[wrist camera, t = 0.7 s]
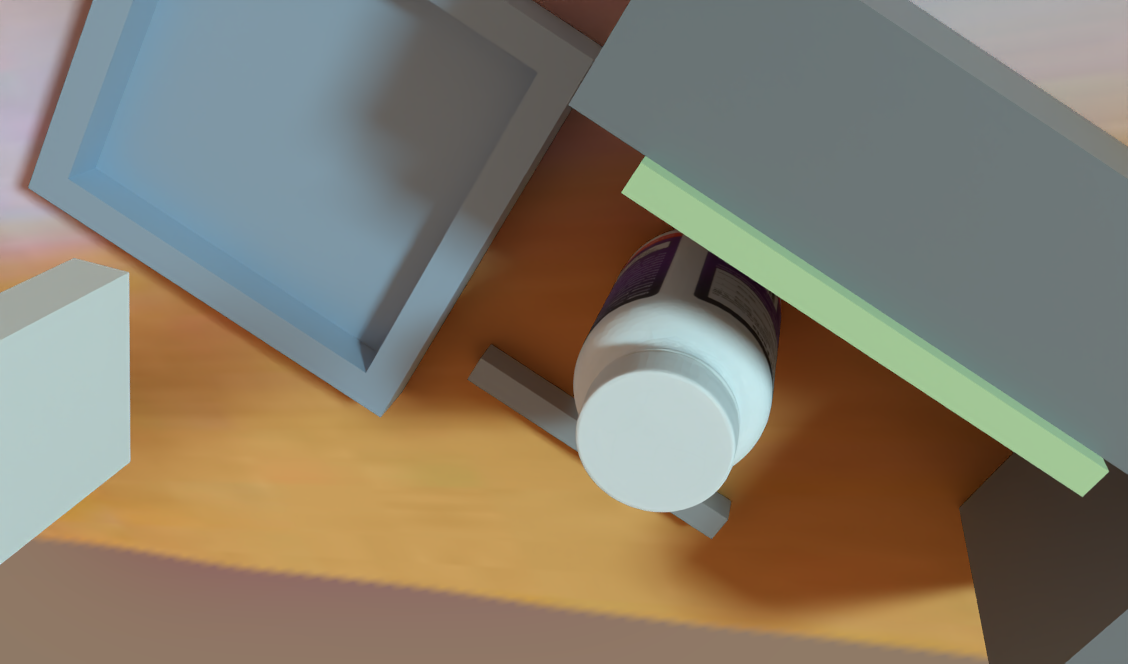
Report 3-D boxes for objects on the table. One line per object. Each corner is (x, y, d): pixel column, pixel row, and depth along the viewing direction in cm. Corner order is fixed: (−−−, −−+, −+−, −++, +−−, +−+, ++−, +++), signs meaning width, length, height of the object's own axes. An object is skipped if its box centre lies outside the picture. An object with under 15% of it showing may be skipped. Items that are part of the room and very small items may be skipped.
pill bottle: (620, 373, 37) (552, 529, 28) (614, 221, 35) (539, 337, 26) (781, 382, 35) (763, 546, 27) (785, 224, 33) (767, 347, 25)
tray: (65, 173, 39) (28, 187, 37) (206, -216, 32) (169, -221, 31) (401, 392, 39) (380, 417, 37) (607, 49, 33) (593, 59, 31)
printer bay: (454, 349, 38) (324, 508, 28) (738, -114, 30) (692, -109, 21) (950, 674, 38) (987, 938, 29) (1356, 299, 30) (1591, 491, 21)
